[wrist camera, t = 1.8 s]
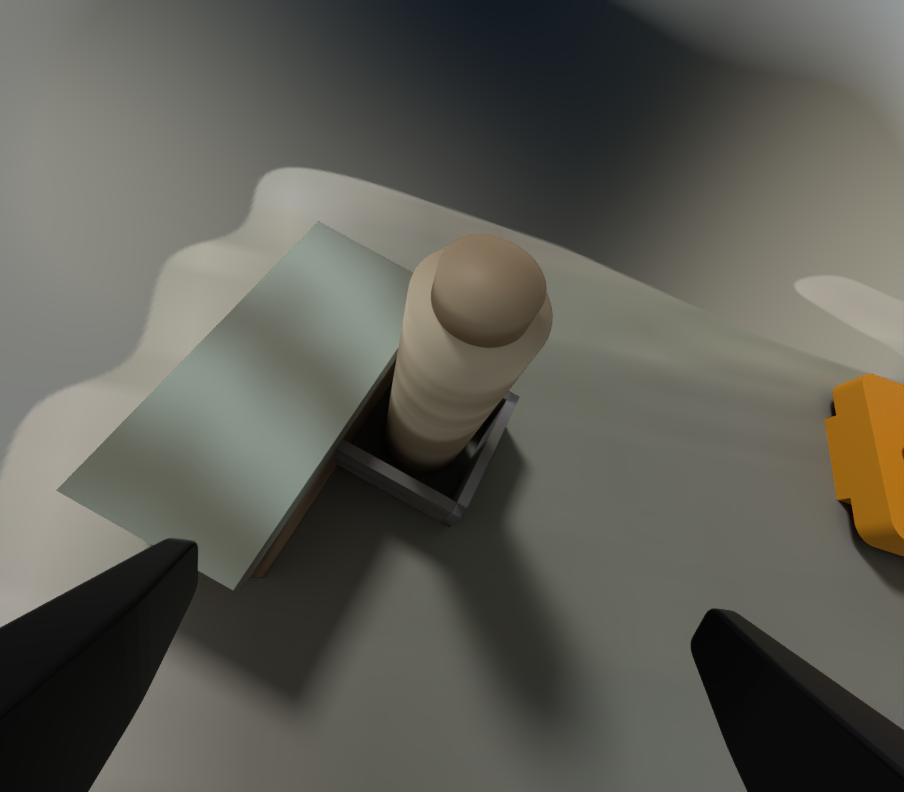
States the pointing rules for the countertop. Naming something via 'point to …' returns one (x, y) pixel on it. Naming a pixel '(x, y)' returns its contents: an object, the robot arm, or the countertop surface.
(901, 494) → the bracket
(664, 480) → the countertop surface
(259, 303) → the green slab with socket
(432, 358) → the wooden pepper mill
